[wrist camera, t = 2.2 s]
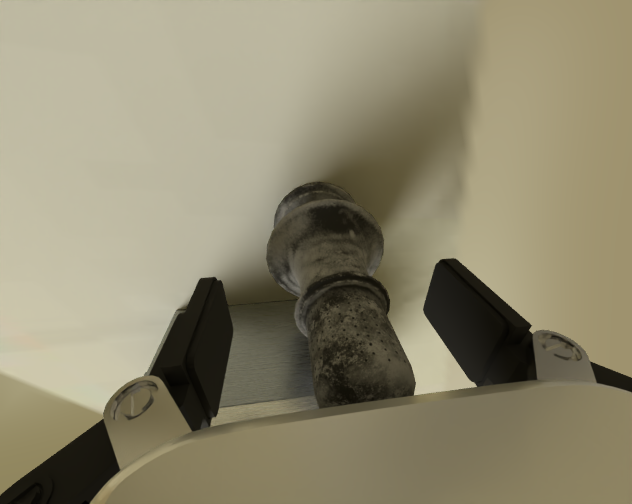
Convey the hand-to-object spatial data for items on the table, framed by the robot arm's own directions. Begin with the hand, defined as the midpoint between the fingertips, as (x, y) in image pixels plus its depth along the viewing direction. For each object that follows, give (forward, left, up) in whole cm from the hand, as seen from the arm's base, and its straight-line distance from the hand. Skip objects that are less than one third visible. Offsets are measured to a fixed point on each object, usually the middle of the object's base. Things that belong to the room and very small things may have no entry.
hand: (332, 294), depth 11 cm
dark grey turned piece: (-1, 0, -6) cm, 6 cm away
